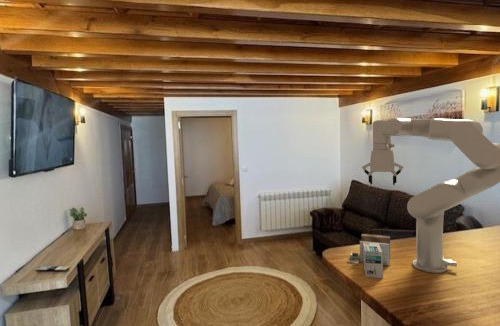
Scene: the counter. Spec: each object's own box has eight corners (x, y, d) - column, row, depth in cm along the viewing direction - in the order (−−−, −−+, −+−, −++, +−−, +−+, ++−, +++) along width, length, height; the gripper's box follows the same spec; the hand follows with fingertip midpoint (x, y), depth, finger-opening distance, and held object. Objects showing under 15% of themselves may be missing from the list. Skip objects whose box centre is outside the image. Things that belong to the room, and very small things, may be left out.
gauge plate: (389, 264, 130) (389, 243, 129) (389, 265, 129) (389, 244, 128) (349, 259, 137) (349, 239, 137) (349, 260, 136) (349, 240, 136)
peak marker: (358, 254, 140) (358, 253, 140) (357, 255, 139) (357, 253, 139) (352, 254, 142) (352, 252, 141) (352, 254, 141) (352, 253, 141)
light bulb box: (383, 278, 118) (383, 251, 117) (365, 277, 120) (364, 251, 119) (379, 267, 128) (379, 242, 127) (363, 266, 130) (362, 241, 129)
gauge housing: (390, 257, 138) (390, 236, 137) (389, 268, 127) (389, 245, 126) (351, 253, 145) (351, 232, 144) (347, 262, 134) (347, 240, 134)
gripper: (402, 146, 137) (403, 183, 139) (362, 147, 145) (363, 182, 146) (403, 146, 131) (403, 186, 132) (360, 148, 138) (361, 185, 140)
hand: (382, 184), depth 139 cm, fingers open, 9 cm apart
